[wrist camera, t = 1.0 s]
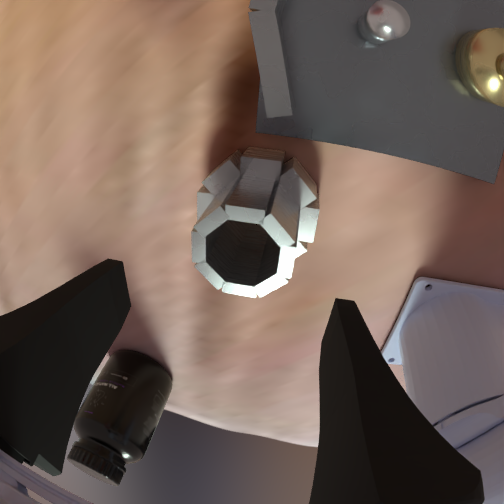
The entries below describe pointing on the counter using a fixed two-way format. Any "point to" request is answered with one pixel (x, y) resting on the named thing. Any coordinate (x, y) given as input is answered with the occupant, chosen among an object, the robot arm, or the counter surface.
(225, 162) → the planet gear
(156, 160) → the counter surface
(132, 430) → the supplement bottle
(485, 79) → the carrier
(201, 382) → the counter surface
